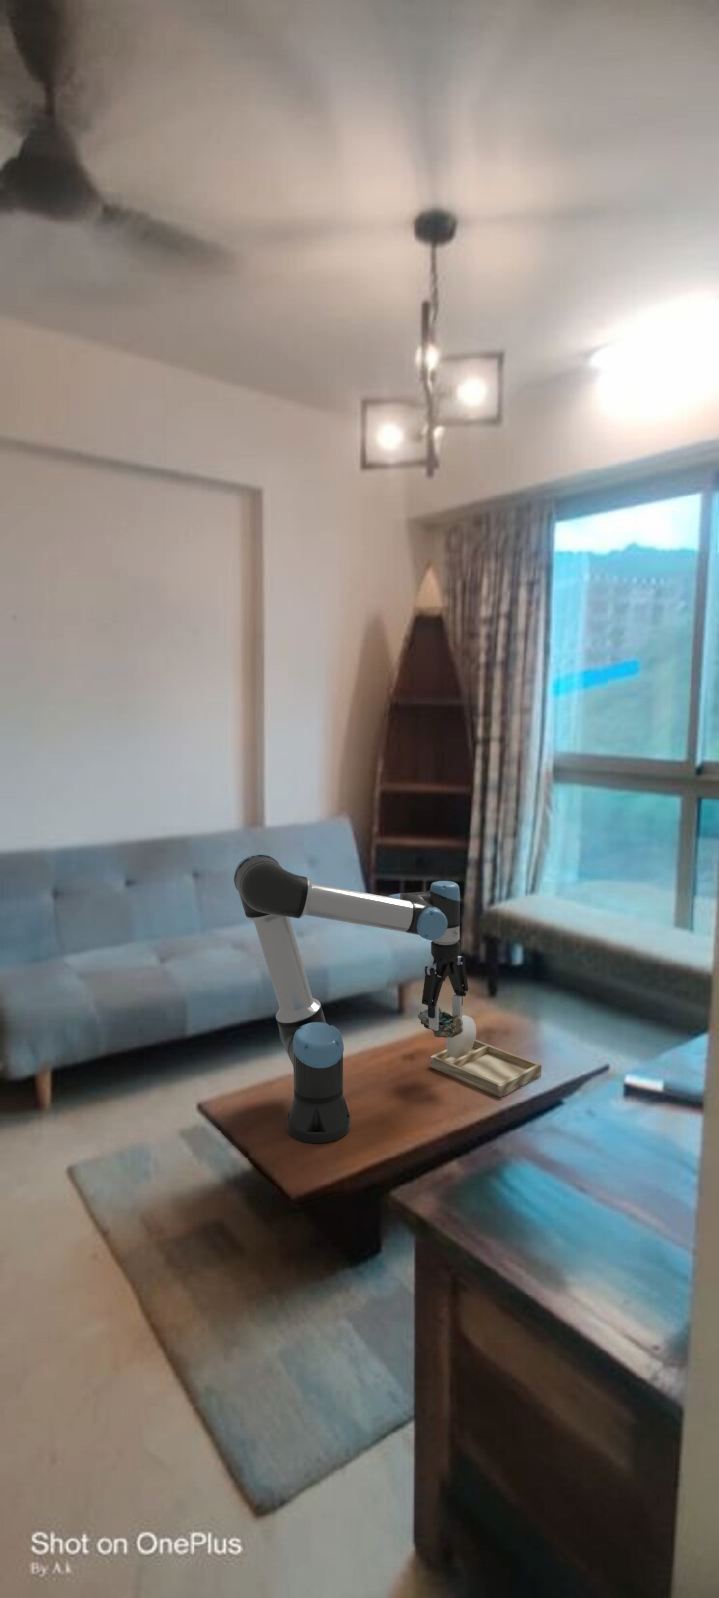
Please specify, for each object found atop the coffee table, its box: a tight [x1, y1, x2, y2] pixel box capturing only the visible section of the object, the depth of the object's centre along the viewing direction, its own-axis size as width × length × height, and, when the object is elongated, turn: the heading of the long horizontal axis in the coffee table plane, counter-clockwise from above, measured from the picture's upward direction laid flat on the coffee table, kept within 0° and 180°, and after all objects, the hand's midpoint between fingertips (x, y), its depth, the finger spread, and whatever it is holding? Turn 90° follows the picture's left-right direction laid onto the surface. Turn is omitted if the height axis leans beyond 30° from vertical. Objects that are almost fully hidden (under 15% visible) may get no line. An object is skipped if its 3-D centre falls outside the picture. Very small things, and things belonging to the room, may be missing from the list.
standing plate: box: [445, 1014, 477, 1059], centre depth 222 cm, size 12×1×12 cm, turn 133°
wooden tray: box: [429, 1038, 542, 1098], centre depth 216 cm, size 18×24×3 cm
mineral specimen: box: [417, 1006, 463, 1038], centre depth 210 cm, size 12×9×8 cm
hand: (445, 1023), depth 209 cm, fingers closed on mineral specimen, 9 cm apart
